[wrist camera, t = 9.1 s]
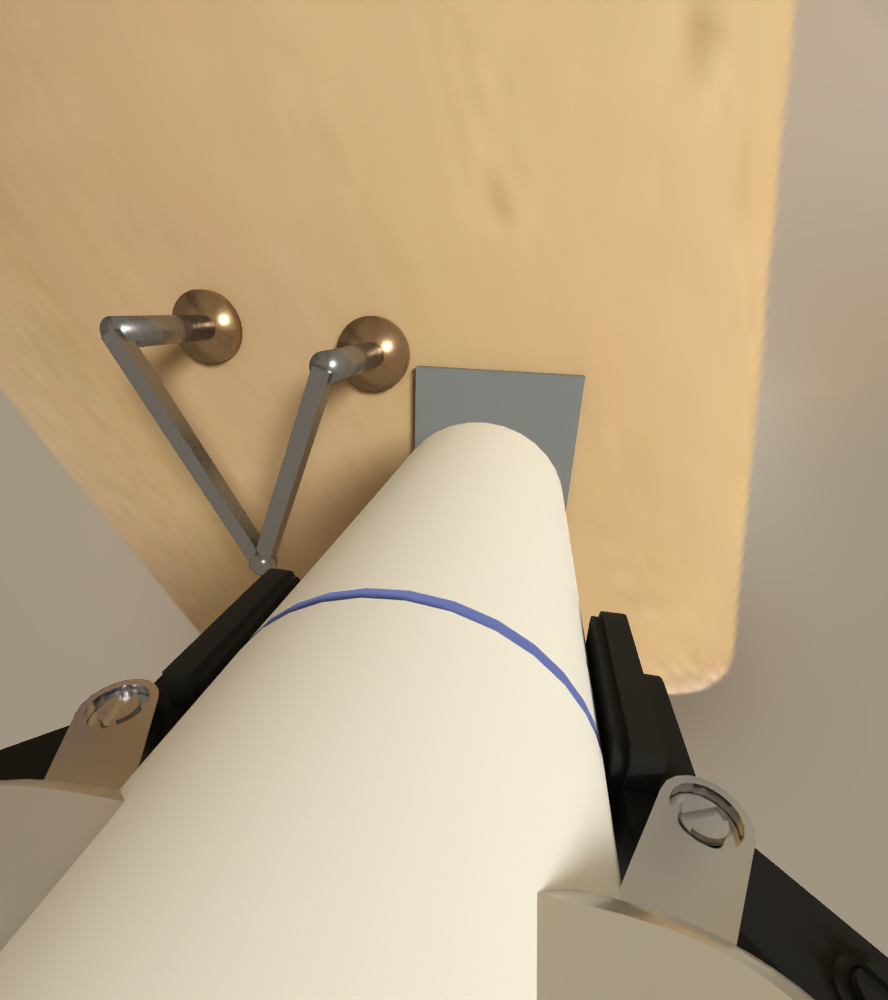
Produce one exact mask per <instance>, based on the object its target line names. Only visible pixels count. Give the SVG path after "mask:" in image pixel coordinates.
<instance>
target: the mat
mask: <svg viewBox="0 0 888 1000" xmlns="http://www.w3.org/2000/svg"><path fill="white" fill-rule="evenodd" d="M584 380H585V376H584V375H567V374H550V373H533V372H515V371H498V370H481V369H464V368H447V367H430V366H417V367H416V392H415V449H416V448H417V447H418V446H419V445H420V444H421V443H422V442H423V441H424V440H425V439H427V438H428V437H430V436H431V435H433V434H434V433H436V432H438V431H440V430H443V429H445V428H447V427H450V426H453V425H458V424H463V423H490V424H495V425H500V426H504V427H506V428H509V429H511V430H514V431H516V432H518V433H521V434H522V435H523V436H525V437H526V438H528V439H529V440H531V441H532V442H534V443H535V444H536V445H537V446H538V447H539V448H540V449H541V450H542V451H543V452H544V453H545V454H546V455H547V457H548V458H549V460H550V461H551V463H552V465H553V466H554V468H555V469H556V472H557V475H558V477H559V480H560V482H561V487H562V493H563V498H564V505H565V512H566V505H567V498H568V491H569V484H570V477H571V470H572V463H573V456H574V449H575V443H576V436H577V429H578V422H579V415H580V408H581V401H582V394H583V387H584Z"/></svg>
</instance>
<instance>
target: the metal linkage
mask: <svg viewBox="0 0 888 1000" xmlns="http://www.w3.org/2000/svg"><path fill="white" fill-rule="evenodd" d="M100 333H101V336H102V337H101V339H102V340H103V342H104V343H105V345H106V346H107V348H108V349H109V351H110V352H111V354H112V355H113V357H114V358H115V360H116V361H117V363H118V364H119V366H120V367H121V369H122V370H123V372H124V373H125V375H126V376H127V378H128V379H129V381H130V382H131V384H132V385H133V387H134V389H135V390H136V392H137V393H138V395H139V396H140V398H141V399H142V401H143V402H144V404H145V405H146V407H147V408H148V410H149V411H150V413H151V414H152V416H153V417H154V419H155V420H156V422H157V423H158V425H159V426H160V428H161V429H162V431H163V432H164V434H165V435H166V437H167V438H168V440H169V441H170V443H171V444H172V446H173V447H174V449H175V450H176V452H177V454H178V455H179V457H180V458H181V460H182V461H183V463H184V464H185V466H186V467H187V469H188V470H189V472H190V473H191V475H192V476H193V478H194V479H195V481H196V482H197V484H198V485H199V487H200V488H201V490H202V491H203V493H204V494H205V496H206V497H207V499H208V500H209V502H210V503H211V505H212V506H213V508H214V509H215V511H216V512H217V514H218V515H219V517H220V519H221V520H222V522H223V523H224V525H225V526H226V528H227V529H228V531H229V532H230V534H231V535H232V537H233V538H234V540H235V541H236V543H237V544H238V546H239V547H240V549H241V550H242V552H243V553H244V555H245V556H246V558H247V559H248V561H249V567H250V569H251V570H252V571H253V572H254V573H255V574H257V575H263V574H264V573H265V572H266V571H267V570H269V569H271V568H274V569H275V568H276V566H277V562H278V560H277V556H276V554H277V551H278V548H279V545H280V542H281V539H282V536H283V533H284V530H285V527H286V524H287V521H288V518H289V515H290V512H291V509H292V506H293V503H294V500H295V497H296V494H297V490H298V487H299V484H300V481H301V478H302V475H303V472H304V469H305V466H306V463H307V460H308V457H309V454H310V451H311V448H312V445H313V442H314V439H315V436H316V433H317V430H318V427H319V424H320V421H321V418H322V415H323V412H324V409H325V405H326V402H327V399H328V396H329V393H330V390H331V387H332V384H333V383H336V382H339V381H341V380H344V379H348V380H349V381H350V382H351V383H352V384H354V385H355V386H357V387H358V388H360V389H363V390H366V391H370V392H379V391H384V390H386V389H389V388H391V387H392V386H394V385H396V384H397V383H398V382H399V381H400V380H401V379H402V378H403V376H404V375H405V373H406V371H407V368H408V365H409V358H410V353H409V346H408V343H407V340H406V338H405V336H404V334H403V333H402V331H401V330H400V329H399V328H398V327H397V326H396V325H395V324H394V323H393V322H391V321H389V320H388V319H385V318H382V317H378V316H365V317H361V318H358V319H356V320H354V321H352V322H351V323H349V324H348V325H347V326H346V327H345V329H344V330H343V332H342V333H341V335H340V338H339V341H338V346H337V348H336V349H331V350H326V351H321V352H318V353H316V354H314V355H313V357H312V358H311V360H310V364H309V369H310V375H309V378H308V381H307V385H306V388H305V391H304V394H303V398H302V401H301V404H300V407H299V411H298V414H297V417H296V421H295V424H294V427H293V430H292V434H291V437H290V440H289V443H288V447H287V450H286V453H285V457H284V460H283V463H282V466H281V470H280V473H279V476H278V479H277V483H276V486H275V489H274V493H273V496H272V499H271V502H270V506H269V509H268V512H267V516H266V519H265V522H264V525H263V529H262V532H261V535H259V533H258V532H257V530H256V528H255V527H254V525H253V524H252V522H251V521H250V519H249V518H248V516H247V514H246V513H245V511H244V510H243V508H242V507H241V505H240V504H239V502H238V500H237V499H236V497H235V496H234V494H233V493H232V491H231V490H230V488H229V486H228V485H227V483H226V482H225V480H224V479H223V477H222V476H221V474H220V472H219V471H218V469H217V468H216V466H215V465H214V463H213V462H212V460H211V459H210V457H209V455H208V454H207V452H206V451H205V449H204V448H203V446H202V445H201V443H200V441H199V440H198V438H197V437H196V435H195V434H194V432H193V431H192V429H191V427H190V426H189V424H188V423H187V421H186V420H185V418H184V417H183V415H182V413H181V412H180V410H179V409H178V407H177V406H176V404H175V403H174V401H173V399H172V398H171V396H170V395H169V393H168V392H167V390H166V389H165V387H164V385H163V384H162V382H161V381H160V379H159V378H158V376H157V375H156V373H155V371H154V370H153V368H152V367H151V365H150V364H149V362H148V361H147V359H146V357H145V356H144V354H143V353H142V351H141V350H140V348H139V347H145V346H155V345H165V344H176V343H179V344H180V345H181V347H182V348H183V349H184V350H185V352H186V353H187V354H189V355H190V356H191V357H192V358H194V359H196V360H198V361H200V362H203V363H208V364H214V363H219V362H224V361H227V360H229V359H231V358H232V357H233V356H234V355H235V354H236V353H237V351H238V349H239V347H240V344H241V340H242V327H241V322H240V319H239V316H238V314H237V312H236V310H235V309H234V307H233V306H232V305H231V303H230V302H229V301H228V300H227V299H226V298H224V297H223V296H222V295H220V294H218V293H216V292H213V291H210V290H191V291H188V292H186V293H184V294H183V295H182V296H180V298H179V299H178V300H177V302H176V303H175V306H174V308H173V313H172V315H152V316H108V317H105V318H104V319H103V320H102V321H101V323H100Z"/></svg>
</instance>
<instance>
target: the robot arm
mask: <svg viewBox="0 0 888 1000" xmlns="http://www.w3.org/2000/svg"><path fill="white" fill-rule="evenodd" d="M299 582H300V579H299V578H298V577H295V575H294V573H293V572H292V571H289V570H282V569H274V568H271V569H269V570H267V571H266V572H265V573H264V574H263V575H262V576H261V577H260V578H259V579H258V580H257V581H256V582H255V583H254V584H253V585H252V586H251V587H250V588H249V589H248V590H246V591H245V592H244V593H243V594H242V595H241V596H240V597H239V598H238V599H237V600H236V601H235V602H234V603H233V604H232V605H231V606H230V607H229V608H228V609H227V610H226V611H225V612H224V613H223V614H222V615H221V616H220V617H219V618H218V619H216V620H215V621H214V622H213V623H212V624H211V625H210V626H209V627H208V628H207V629H206V630H205V631H204V632H203V633H202V634H201V635H200V636H199V637H198V638H197V639H196V640H195V641H194V642H193V643H192V644H191V645H190V646H189V647H187V649H185V650H184V651H183V652H182V653H181V654H180V655H179V656H178V657H177V658H176V659H175V660H174V661H173V662H172V663H171V664H170V665H169V666H168V667H167V668H166V669H165V670H164V671H163V672H162V673H163V675H162V676H161V677H160V678H159V679H158V680H157V681H156V682H155V683H152V682H150V681H148V680H142V679H133V680H125V681H122V682H118V683H114V684H112V685H110V686H107V687H105V688H103V689H101V690H100V691H98V692H96V693H95V694H93V695H91V696H90V697H89V698H88V699H87V700H86V701H85V702H84V703H82V704H81V706H80V707H79V709H78V710H77V712H76V713H75V715H74V718H73V720H72V722H71V724H70V725H69V726H66V727H64V728H61V729H58V730H55V731H52V732H50V733H47V734H44V735H41V736H39V737H35V738H33V739H30V740H27V741H24V742H21V743H19V744H16V745H13V746H10V747H7V748H4V749H2V750H0V951H1V950H2V949H3V948H4V947H5V945H6V944H7V943H8V942H9V941H10V939H11V938H12V937H13V936H14V935H15V933H16V932H17V931H18V930H19V929H20V927H21V926H22V925H23V924H24V923H25V921H26V920H27V919H28V918H29V916H30V915H31V914H32V913H33V912H34V910H35V909H36V908H37V907H38V906H39V904H40V903H41V902H42V901H43V900H44V898H45V897H46V896H47V895H48V894H49V892H50V891H51V890H52V889H53V888H54V886H55V885H56V884H57V883H58V882H59V880H60V879H61V878H62V877H63V876H64V874H65V873H66V872H67V871H68V870H69V868H70V867H71V866H72V865H73V864H74V862H75V861H76V860H77V859H78V858H79V856H80V855H81V854H82V853H83V852H84V850H85V849H86V848H87V847H88V846H89V844H90V843H91V842H92V841H93V840H94V838H95V837H96V836H97V835H98V834H99V832H100V831H101V830H102V829H103V828H104V826H105V825H106V824H107V823H108V822H109V820H110V819H111V818H112V817H113V815H114V814H115V813H116V812H117V811H118V809H119V808H120V807H121V806H122V805H123V803H124V802H125V801H124V798H123V796H122V794H121V790H119V789H120V788H121V787H122V786H123V785H124V784H125V783H126V781H127V780H128V779H129V778H130V777H131V776H132V774H133V773H134V772H135V771H136V770H137V769H138V767H139V766H140V765H141V764H142V763H143V762H144V761H145V759H146V758H147V757H148V756H149V755H150V754H151V752H152V751H153V750H154V749H155V748H156V747H157V746H158V744H159V743H160V742H161V741H162V740H163V739H164V737H165V736H166V735H167V734H168V733H169V732H170V731H171V729H172V728H173V727H174V726H175V725H176V724H177V722H178V721H179V720H180V719H181V718H182V717H183V716H184V714H185V713H186V712H187V711H188V710H189V709H190V707H191V706H192V705H193V704H194V703H195V702H196V700H197V699H198V698H199V697H200V696H201V695H202V694H203V692H204V691H205V690H206V689H207V688H208V687H209V685H210V684H211V683H212V682H213V681H214V680H215V679H216V677H217V676H218V675H219V674H220V673H221V672H222V670H223V669H224V668H225V667H226V666H227V665H228V664H229V662H230V661H231V660H232V659H233V658H234V657H235V655H236V654H237V653H238V652H239V651H240V650H241V649H242V648H243V647H244V646H245V645H246V644H247V643H248V641H249V640H250V638H251V637H252V636H253V635H254V634H255V632H256V631H257V630H258V629H259V628H260V627H261V626H262V624H263V623H264V622H265V621H266V620H267V619H268V618H269V616H270V615H271V614H272V613H273V612H274V611H275V610H276V608H277V607H278V606H279V605H280V604H281V603H282V602H283V600H284V599H285V598H286V597H287V596H288V595H289V594H290V592H291V591H292V590H293V589H294V588H295V587H296V586H297V584H298V583H299ZM586 650H587V657H588V663H589V670H590V676H591V685H592V690H593V696H594V703H595V710H596V716H597V723H598V730H599V737H600V743H601V750H602V757H603V763H604V770H605V777H606V783H607V790H608V797H609V804H610V810H611V817H612V824H613V830H614V837H615V844H616V850H617V857H618V864H619V871H620V877H621V886H620V889H619V892H620V899H621V900H619V899H615V898H611V897H607V896H603V895H599V894H595V893H591V892H586V891H582V890H578V889H556V890H550V891H545V892H537V1000H888V957H886V956H885V955H884V954H883V953H881V952H880V951H879V950H878V949H877V948H875V947H874V946H873V945H872V944H871V943H869V942H868V941H867V940H866V939H864V938H863V937H862V936H861V935H860V934H858V933H857V932H856V931H854V929H852V928H851V927H850V926H849V925H848V924H846V923H845V922H844V921H843V920H842V919H840V918H839V917H838V916H837V915H835V914H834V913H833V912H832V911H831V910H829V909H828V908H827V907H826V906H825V905H823V904H822V903H821V902H820V901H818V900H817V899H816V898H815V897H814V896H812V895H811V894H810V893H809V892H808V891H806V890H805V889H804V888H803V887H802V886H800V885H799V884H798V883H797V882H796V881H794V880H793V879H792V878H791V877H789V876H788V875H787V874H786V873H784V872H783V871H782V870H781V869H780V868H779V867H777V866H776V865H775V864H774V863H773V862H771V861H770V860H769V859H768V858H767V857H765V856H764V855H763V854H761V853H760V852H759V851H758V850H757V849H755V830H754V827H753V825H752V822H751V820H750V817H749V816H748V814H747V813H746V811H745V810H744V809H743V807H742V806H741V804H740V803H738V801H737V800H735V799H734V798H733V797H732V796H731V795H730V794H729V793H728V792H727V791H725V790H723V789H722V788H720V787H719V786H717V785H716V784H714V783H712V782H710V781H707V780H705V779H703V778H700V777H696V776H695V773H694V770H693V767H692V764H691V761H690V758H689V755H688V752H687V749H686V746H685V743H684V740H683V737H682V735H681V732H680V729H679V726H678V723H677V720H676V717H675V714H674V711H673V708H672V705H671V702H670V699H669V697H668V694H667V691H666V688H665V685H664V682H663V680H662V678H660V677H659V676H655V675H648V674H643V670H642V667H641V664H640V660H639V657H638V653H637V650H636V647H635V643H634V640H633V636H632V633H631V630H630V626H629V623H628V619H627V617H626V615H625V614H620V613H612V612H604V611H601V612H600V614H599V617H596V616H591V619H590V623H589V629H588V634H587V640H586Z"/></svg>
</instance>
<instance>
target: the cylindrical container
mask: <svg viewBox="0 0 888 1000" xmlns="http://www.w3.org/2000/svg"><path fill="white" fill-rule="evenodd" d="M119 790H121V794H122V796H123V798H124V801H125V802H124V803H123V805H122V806H121V807H120V808H119V809H118V811H117V812H116V813H115V814H114V815H113V817H112V818H111V819H110V820H109V822H108V823H107V824H106V825H105V826H104V828H103V829H102V830H101V831H100V832H99V834H98V835H97V836H96V837H95V838H94V840H93V841H92V842H91V843H90V844H89V846H88V847H87V848H86V849H85V850H84V852H83V853H82V854H81V855H80V856H79V858H78V859H77V860H76V861H75V862H74V864H73V865H72V866H71V867H70V868H69V870H68V871H67V872H66V873H65V874H64V876H63V877H62V878H61V879H60V880H59V882H58V883H57V884H56V885H55V886H54V888H53V889H52V890H51V891H50V892H49V894H48V895H47V896H46V897H45V898H44V900H43V901H42V902H41V903H40V904H39V906H38V907H37V908H36V909H35V910H34V912H33V913H32V914H31V915H30V916H29V918H28V919H27V920H26V921H25V923H24V924H23V925H22V926H21V927H20V929H19V930H18V931H17V932H16V933H15V935H14V936H13V937H12V938H11V939H10V941H9V942H8V943H7V944H6V945H5V947H4V948H3V949H2V950H1V951H0V1000H537V892H545V891H550V890H556V889H578V890H582V891H586V892H591V893H595V894H599V895H603V896H607V897H611V898H615V899H619V900H621V899H620V892H619V889H620V886H621V877H620V871H619V864H618V857H617V850H616V844H615V837H614V830H613V824H612V817H611V810H610V804H609V797H608V790H607V783H606V777H605V770H604V763H603V757H602V750H601V743H600V737H599V730H598V723H597V716H596V710H595V703H594V696H593V690H592V685H591V676H590V670H589V663H588V657H587V650H586V643H585V637H584V630H583V624H582V617H581V610H580V604H579V597H578V591H577V584H576V577H575V571H574V564H573V558H572V551H571V544H570V538H569V531H568V525H567V518H566V512H565V505H564V498H563V493H562V487H561V482H560V480H559V477H558V475H557V472H556V469H555V468H554V466H553V465H552V463H551V461H550V460H549V458H548V457H547V455H546V454H545V453H544V452H543V451H542V450H541V449H540V448H539V447H538V446H537V445H536V444H535V443H534V442H532V441H531V440H529V439H528V438H526V437H525V436H523V435H522V434H521V433H518V432H516V431H514V430H511V429H509V428H506V427H504V426H500V425H495V424H490V423H463V424H458V425H453V426H450V427H447V428H445V429H443V430H440V431H438V432H436V433H434V434H433V435H431V436H430V437H428V438H427V439H425V440H424V441H423V442H422V443H421V444H420V445H419V446H418V447H417V448H416V449H415V450H414V451H413V452H412V453H411V454H410V455H409V457H408V458H407V459H406V460H405V461H404V462H403V464H402V465H401V466H400V467H399V468H398V469H397V471H396V472H395V473H394V474H393V475H392V476H391V477H390V479H389V480H388V481H387V482H386V483H385V484H384V486H383V487H382V488H381V489H380V490H379V491H378V493H377V494H376V495H375V496H374V497H373V498H372V500H371V501H370V502H369V503H368V504H367V505H366V507H365V508H364V509H363V510H362V511H361V512H360V513H359V515H358V516H357V517H356V518H355V519H354V520H353V522H352V523H351V524H350V525H349V526H348V527H347V528H346V530H345V531H344V532H343V533H342V534H341V535H340V536H339V538H338V539H337V540H336V541H335V542H334V543H333V544H332V546H331V547H330V548H329V549H328V550H327V551H326V552H325V554H324V555H323V556H322V557H321V558H320V559H319V560H318V562H317V563H316V564H315V565H314V566H313V567H312V568H311V570H310V571H309V572H308V573H307V574H306V575H305V576H304V578H303V579H302V580H301V581H300V582H299V583H298V584H297V586H296V587H295V588H294V589H293V590H292V591H291V592H290V594H289V595H288V596H287V597H286V598H285V599H284V600H283V602H282V603H281V604H280V605H279V606H278V607H277V608H276V610H275V611H274V612H273V613H272V614H271V615H270V616H269V618H268V619H267V620H266V621H265V622H264V623H263V624H262V626H261V627H260V628H259V629H258V630H257V631H256V632H255V634H254V635H253V636H252V637H251V638H250V640H249V641H248V643H247V644H246V645H245V646H244V647H243V648H242V649H241V650H240V651H239V652H238V653H237V654H236V655H235V657H234V658H233V659H232V660H231V661H230V662H229V664H228V665H227V666H226V667H225V668H224V669H223V670H222V672H221V673H220V674H219V675H218V676H217V677H216V679H215V680H214V681H213V682H212V683H211V684H210V685H209V687H208V688H207V689H206V690H205V691H204V692H203V694H202V695H201V696H200V697H199V698H198V699H197V700H196V702H195V703H194V704H193V705H192V706H191V707H190V709H189V710H188V711H187V712H186V713H185V714H184V716H183V717H182V718H181V719H180V720H179V721H178V722H177V724H176V725H175V726H174V727H173V728H172V729H171V731H170V732H169V733H168V734H167V735H166V736H165V737H164V739H163V740H162V741H161V742H160V743H159V744H158V746H157V747H156V748H155V749H154V750H153V751H152V752H151V754H150V755H149V756H148V757H147V758H146V759H145V761H144V762H143V763H142V764H141V765H140V766H139V767H138V769H137V770H136V771H135V772H134V773H133V774H132V776H131V777H130V778H129V779H128V780H127V781H126V783H125V784H124V785H123V786H122V787H121V788H120V789H119Z"/></svg>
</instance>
